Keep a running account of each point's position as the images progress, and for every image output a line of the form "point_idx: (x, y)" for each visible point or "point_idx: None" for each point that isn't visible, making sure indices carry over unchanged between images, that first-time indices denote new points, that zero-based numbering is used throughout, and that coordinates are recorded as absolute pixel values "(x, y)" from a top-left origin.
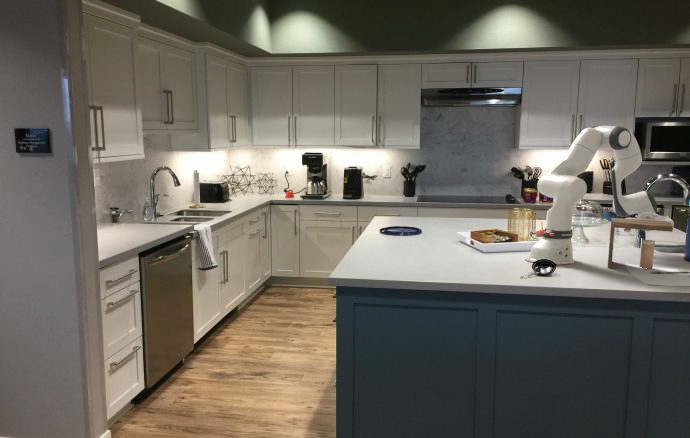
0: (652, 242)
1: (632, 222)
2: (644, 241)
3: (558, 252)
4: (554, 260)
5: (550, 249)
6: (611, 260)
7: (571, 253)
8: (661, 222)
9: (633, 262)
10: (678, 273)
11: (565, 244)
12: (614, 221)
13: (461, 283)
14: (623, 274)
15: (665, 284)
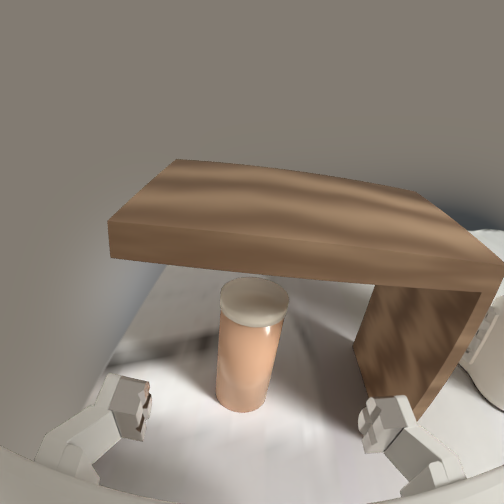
0: (236, 279)
1: (353, 192)
2: (274, 283)
3: None
4: (482, 329)
5: (498, 297)
6: (362, 324)
7: (480, 343)
8: (194, 198)
9: (294, 478)
10: (135, 349)
11: (499, 307)
12: (423, 203)
13: None
14: (307, 303)
15: None
